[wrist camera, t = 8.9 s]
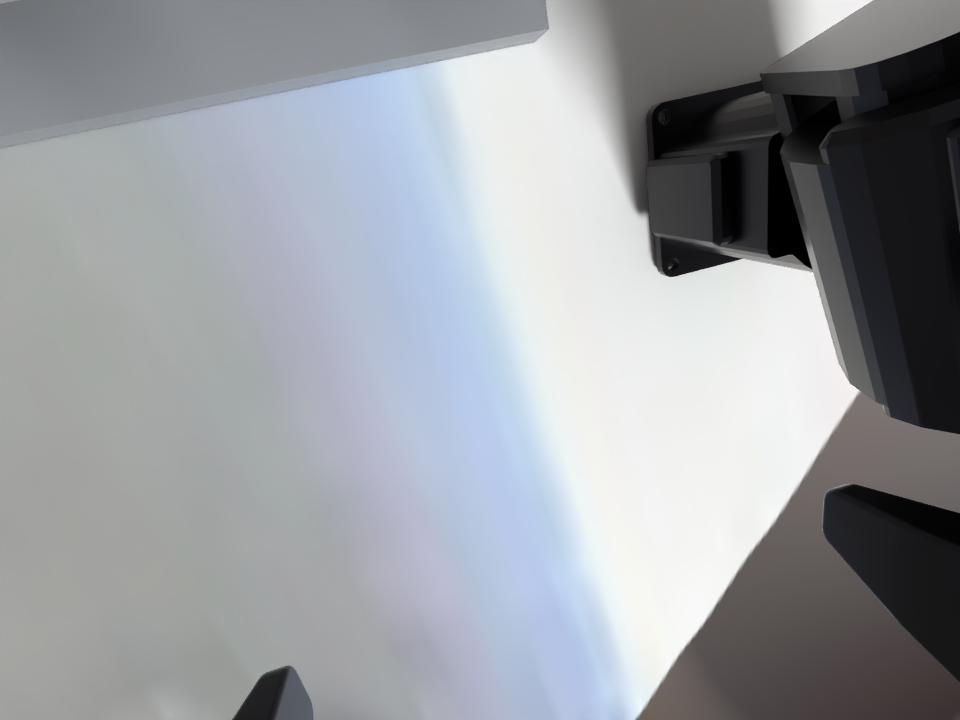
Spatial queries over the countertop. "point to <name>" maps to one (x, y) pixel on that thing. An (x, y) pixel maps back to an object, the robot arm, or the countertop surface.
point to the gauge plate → (220, 52)
